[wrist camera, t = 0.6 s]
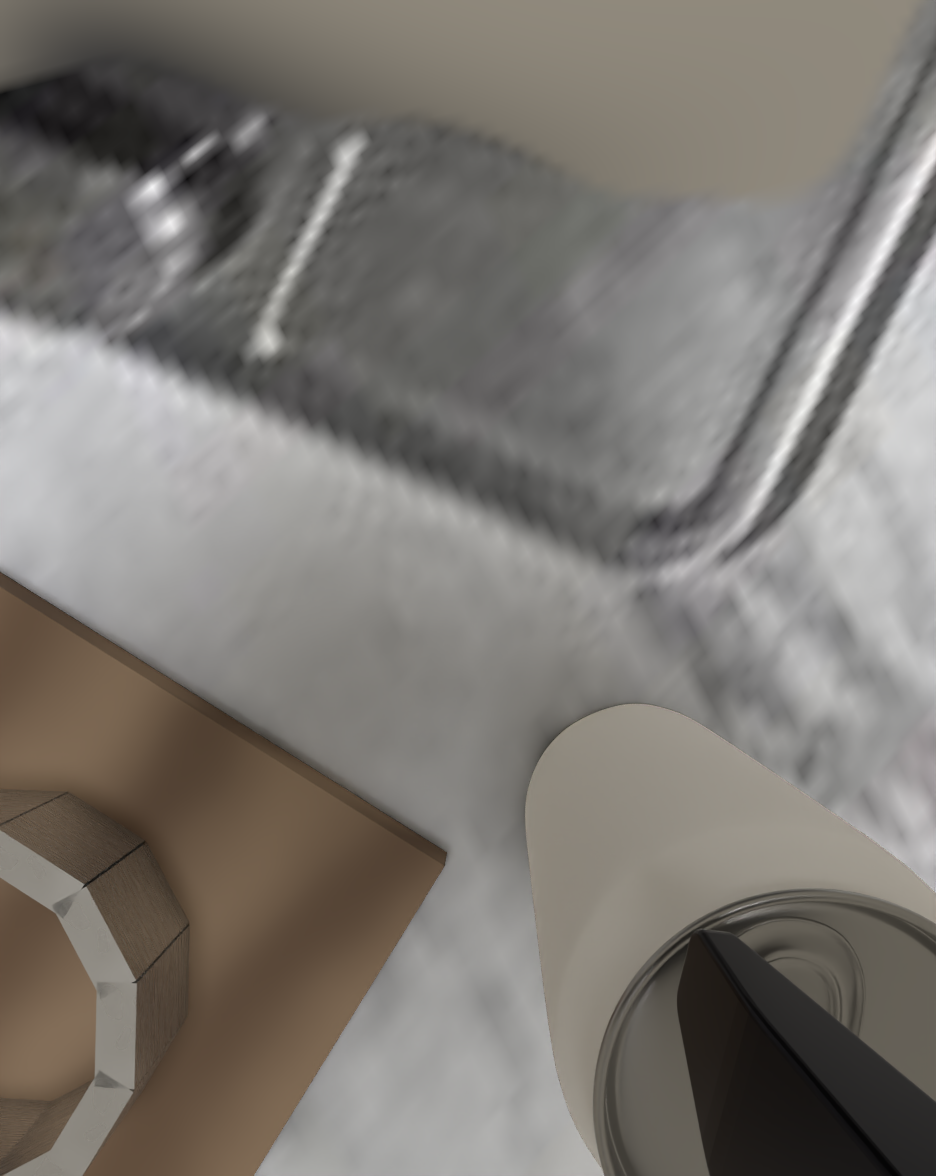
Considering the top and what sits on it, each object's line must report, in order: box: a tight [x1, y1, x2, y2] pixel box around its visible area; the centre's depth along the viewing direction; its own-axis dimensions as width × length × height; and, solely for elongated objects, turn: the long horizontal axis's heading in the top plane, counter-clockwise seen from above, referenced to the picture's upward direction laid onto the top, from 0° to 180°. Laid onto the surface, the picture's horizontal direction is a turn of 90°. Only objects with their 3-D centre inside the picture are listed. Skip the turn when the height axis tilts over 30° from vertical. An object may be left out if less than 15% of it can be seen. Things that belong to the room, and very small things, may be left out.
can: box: [525, 704, 936, 1176], centre depth 15 cm, size 6×6×12 cm
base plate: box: [0, 573, 447, 1176], centre depth 21 cm, size 18×18×1 cm
